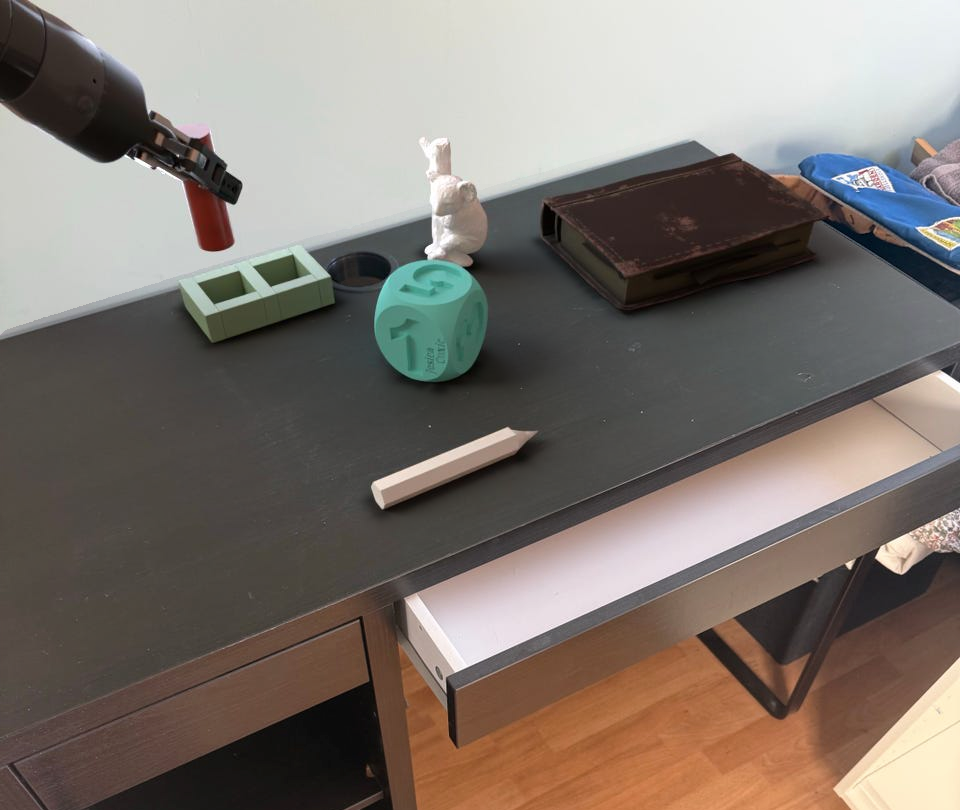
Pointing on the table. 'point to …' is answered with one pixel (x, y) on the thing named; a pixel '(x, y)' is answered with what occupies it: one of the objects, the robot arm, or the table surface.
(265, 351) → the table surface
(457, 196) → the koala figurine
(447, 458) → the unpainted wooden pencil
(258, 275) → the two-slot green holder
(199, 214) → the peg
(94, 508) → the table surface
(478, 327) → the decorative dice
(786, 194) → the diary
